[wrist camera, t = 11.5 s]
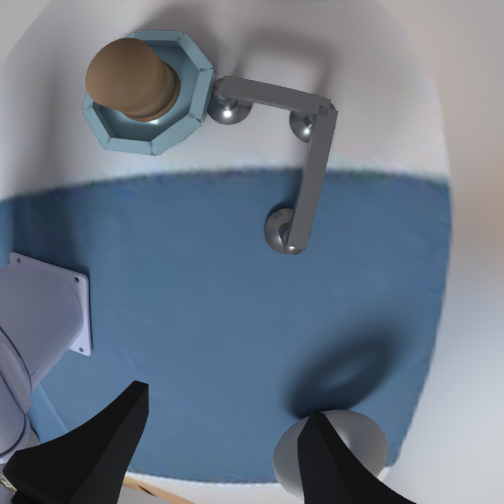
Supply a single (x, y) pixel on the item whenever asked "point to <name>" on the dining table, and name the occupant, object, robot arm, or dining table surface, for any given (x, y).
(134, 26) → the dining table surface
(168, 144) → the dish
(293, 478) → the donut
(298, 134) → the bent rail
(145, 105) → the cylinder
